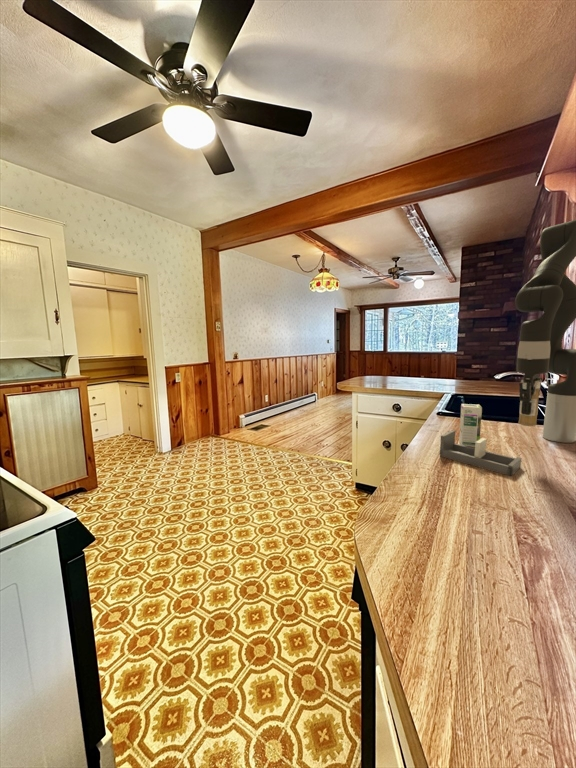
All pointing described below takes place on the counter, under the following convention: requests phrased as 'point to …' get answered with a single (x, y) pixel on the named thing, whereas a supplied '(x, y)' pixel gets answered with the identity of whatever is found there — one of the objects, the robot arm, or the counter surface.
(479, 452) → the pusher plate
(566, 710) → the counter surface
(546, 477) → the counter surface
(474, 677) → the counter surface
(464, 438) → the syrup box
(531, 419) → the sprinkles bottle
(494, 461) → the grey slide rail frame
